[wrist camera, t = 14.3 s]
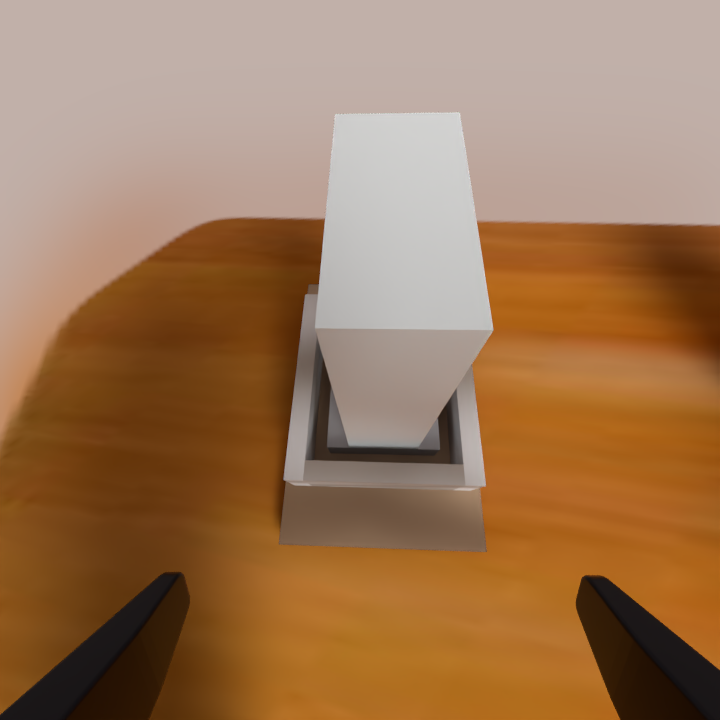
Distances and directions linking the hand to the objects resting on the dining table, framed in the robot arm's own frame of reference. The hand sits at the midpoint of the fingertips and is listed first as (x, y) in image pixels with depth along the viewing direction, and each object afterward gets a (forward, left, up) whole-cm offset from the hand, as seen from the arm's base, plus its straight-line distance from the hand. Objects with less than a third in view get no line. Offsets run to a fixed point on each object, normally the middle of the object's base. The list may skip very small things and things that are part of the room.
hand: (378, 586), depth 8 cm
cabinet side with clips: (+7, +2, -9) cm, 12 cm away
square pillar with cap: (+7, +2, -8) cm, 11 cm away
